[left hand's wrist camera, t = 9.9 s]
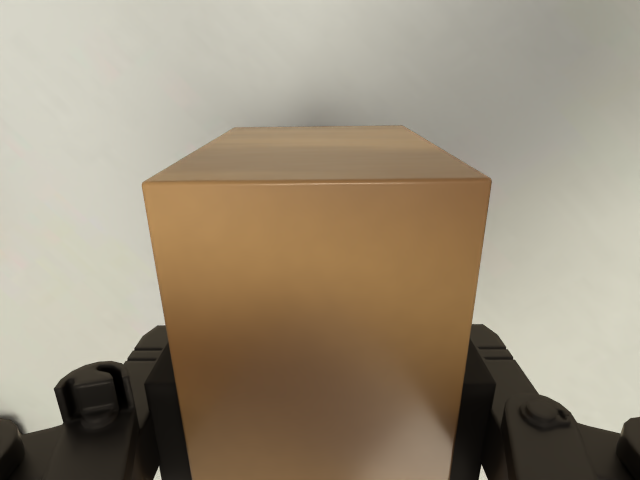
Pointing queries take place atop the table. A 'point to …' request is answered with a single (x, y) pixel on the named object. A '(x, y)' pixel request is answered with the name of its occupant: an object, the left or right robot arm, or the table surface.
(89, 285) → the table surface
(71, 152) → the table surface
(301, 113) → the table surface
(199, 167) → the bar
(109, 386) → the left robot arm
